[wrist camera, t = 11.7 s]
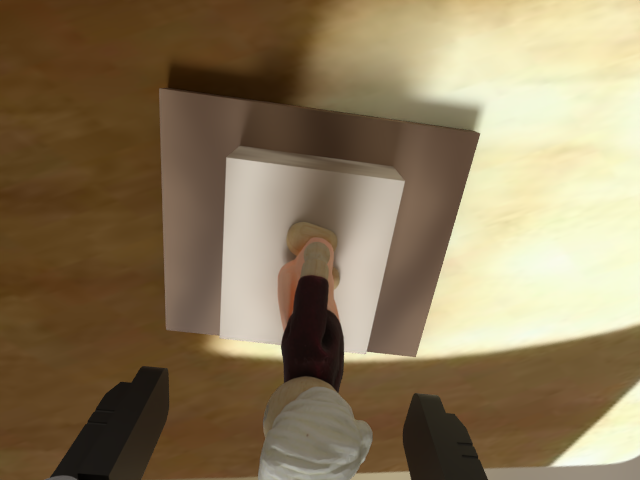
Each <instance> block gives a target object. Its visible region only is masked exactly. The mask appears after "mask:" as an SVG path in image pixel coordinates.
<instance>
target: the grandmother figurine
mask: <svg viewBox="0 0 640 480" xmlns="http://www.w3.org/2000/svg"><path fill="white" fill-rule="evenodd" d="M337 242H338V240H337V236H336V235H335V234H334V232H332V231H330V230H328V229H325V228H322V227H320V226H317V225H314V224H311V223H308V222H299V223H296V224H294V225H292V226H291V227H290V229H289V231H288V233H287V237H286V243H287V246H288V248H289V250H290V251H291V252H292V253H293V254H294V255H296V256H297V257H296V258H295V260H292V261H290V262H288V263H286V264H285V265H284V266H283V267H282V268H281V269H280V271H279V274H278V290H277V292H278V304H279V310H280V316H281V321H282V327H283V331H284V334H283V337H282V342H281V349H282V356H283V363H284V384H282V385H281V386H280V387H279V388H278V389H277V390H276V391H275V392H274V393H273V395H272V396H271V398H270V400H269V402H268V404H267V407H266V410H265V414H264V420H263V427H264V435H265V438H266V439H265V442H264V445H263V448H262V453H261V457H260V467H259V473H258V480H350V479H351V478H352V477H353V476H354V475H355V473H356V472H357V470H358V469H359V466H360V464H361V463H363V461H364V460H365V457H366V455H367V453H368V451H369V448H370V445H371V443H372V430H371V428H370V426H369V425H368V424H367V423H366V422H364V421H361V420H355V419H354V416H353V413H352V410H351V407H350V406H349V404H348V403H347V402H346V401H345V400H344V399H342V398H341V396H340V395H339V394H338V392H339V387H340V383H341V379H342V376H343V367H344V336H343V331H342V327H341V323H340V319H339V314H338V310H337V306H336V303H335V300H334V290H335V289H336V288H337V287H338V285H339V283H340V276H339V272H338V270H337V269H336V268H335V267H333V261H334V252H335V250H336V247H337Z"/></svg>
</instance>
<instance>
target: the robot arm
mask: <svg viewBox="0 0 640 480" xmlns="http://www.w3.org/2000/svg"><path fill="white" fill-rule="evenodd" d="M168 410H169V378H168V369H167V368H157V367H147V366H142V367H141V368H140V370H139V371H138V373H137V374H136V376H135V378H134V379H133V381H132V383H128V382H120V383H119V384H118V385H116V386H115V387H114V388H113V389H111V390H110V391H109V392H107V393H106V394H105V396H104V397H103V399H102V400H101V402H100V403H99V405H98V406H97V408H96V411H95V412H93V414H92V415H91V417H90V418H89V420H88V423H87V424H85V426H84V427H83V429H82V431H81V432H80V434H79V435H78V437H77V438H76V440H75V441H74V443H73V444H72V446H71V447H70V449H69V450H68V452H67V453H66V455H65V456H64V458H63V459H62V461H61V462H60V464H59V465H58V467H57V468H56V470H55V471H54V473H53V474H52V475H51V477H50V478H48V479H45V480H141V478H142V476H143V474H144V471H145V469H146V467H147V464H148V462H149V460H150V457H151V455H152V453H153V450H154V448H155V446H156V444H157V441H158V439H159V437H160V434H161V432H162V430H163V427H164V425H165V422H166V419H167V415H168ZM472 444H473V443H472V441H471V439H470V436H469V434H468V431H467V429H466V427H465V426H464V425H463V424H462V423H461V421H460V420H459V419H458V418H457V417H456V416H455V414H449V413H446V412H445V410H444V407H443V405H442V402H441V399H440V398H439V396H437V395H428V394H418V393H415V394H414V395H413V397H412V400H411V404H410V407H409V410H408V414H407V417H406V420H405V424H404V428H403V445H404V450H405V454H406V459H407V463H408V467H409V471H410V476H411V480H488V479H487V476H486V474H485V472H484V469H483V467H482V464H481V462H480V460H478V455H477V453H476V450H475V448H474V447H473V445H472Z"/></svg>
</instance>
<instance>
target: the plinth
mask: <svg viewBox="0 0 640 480" xmlns="http://www.w3.org/2000/svg"><path fill="white" fill-rule="evenodd" d="M159 101H160V136H161V170H162V205H163V240H164V274H165V309H166V330H173V331H182V332H191V333H201V334H210V335H219V336H220V338H222V339H231V340H241V341H250V342H259V343H268V344H277V345H281V342H282V337H283V334H284V331H283V327H282V321H281V316H280V310H279V304H278V292H277V290H278V274H279V271H280V269H281V268H282V267H283V266H284V265H285V264H286V263H288V262H290V261H292V260H295V258H296V257H297V256H296V255H294V254H293V253H292V252H291V251H290V250H289V248H288V246H287V243H286V237H287V233H288V231H289V229H290V227H291V226H292V225H294V224H296V223H299V222H308V223H311V224H314V225H317V226H320V227H322V228H325V229H328V230H330V231H332V232H334V234H335V235H336V236H337V240H338V242H337V247H336V250H335V252H334V261H333V267H335V268H336V269H337V270H338V272H339V276H340V283H339V285H338V287H337V288H336V289H335V290H334V300H335V303H336V306H337V310H338V314H339V319H340V323H341V327H342V331H343V336H344V352H351V353H360V354H366V352H375V353H384V354H393V355H402V356H411V357H416V354H417V350H418V347H419V343H420V340H421V337H422V333H423V330H424V326H425V323H426V319H427V316H428V312H429V309H430V305H431V302H432V299H433V295H434V292H435V288H436V285H437V281H438V278H439V274H440V271H441V267H442V264H443V261H444V257H445V254H446V250H447V247H448V243H449V240H450V236H451V233H452V229H453V226H454V222H455V219H456V216H457V212H458V209H459V205H460V202H461V198H462V195H463V191H464V188H465V184H466V181H467V178H468V174H469V171H470V167H471V164H472V160H473V157H474V153H475V150H476V146H477V143H478V140H479V136H480V133H477V132H475V131H471V130H464V129H457V128H449V127H442V126H435V125H428V124H421V123H414V122H407V121H400V120H393V119H386V118H378V117H371V116H364V115H357V114H350V113H343V112H336V111H329V110H322V109H314V108H307V107H300V106H293V105H286V104H279V103H272V102H265V101H258V100H251V99H243V98H236V97H229V96H222V95H215V94H208V93H201V92H194V91H187V90H180V89H172V88H159Z"/></svg>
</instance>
